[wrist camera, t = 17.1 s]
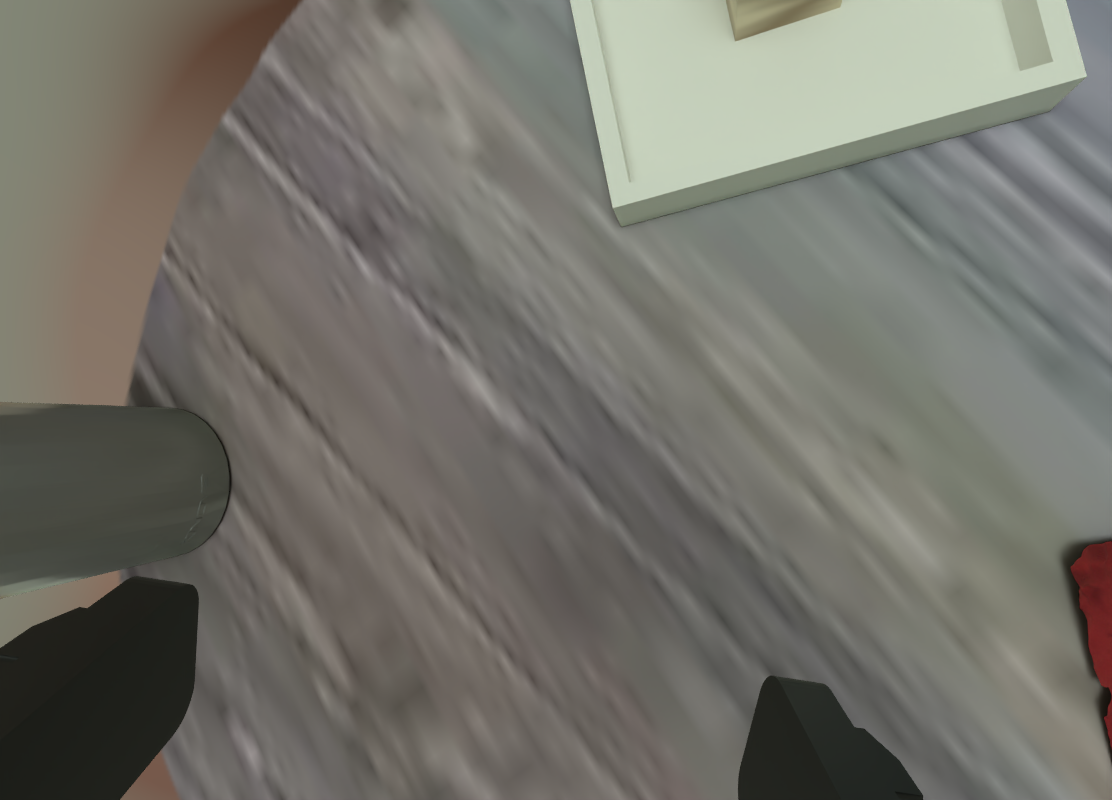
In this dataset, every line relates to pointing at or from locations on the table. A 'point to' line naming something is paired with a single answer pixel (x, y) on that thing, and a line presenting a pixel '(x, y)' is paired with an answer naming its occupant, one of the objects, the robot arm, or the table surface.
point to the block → (772, 14)
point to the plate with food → (1098, 610)
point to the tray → (804, 88)
